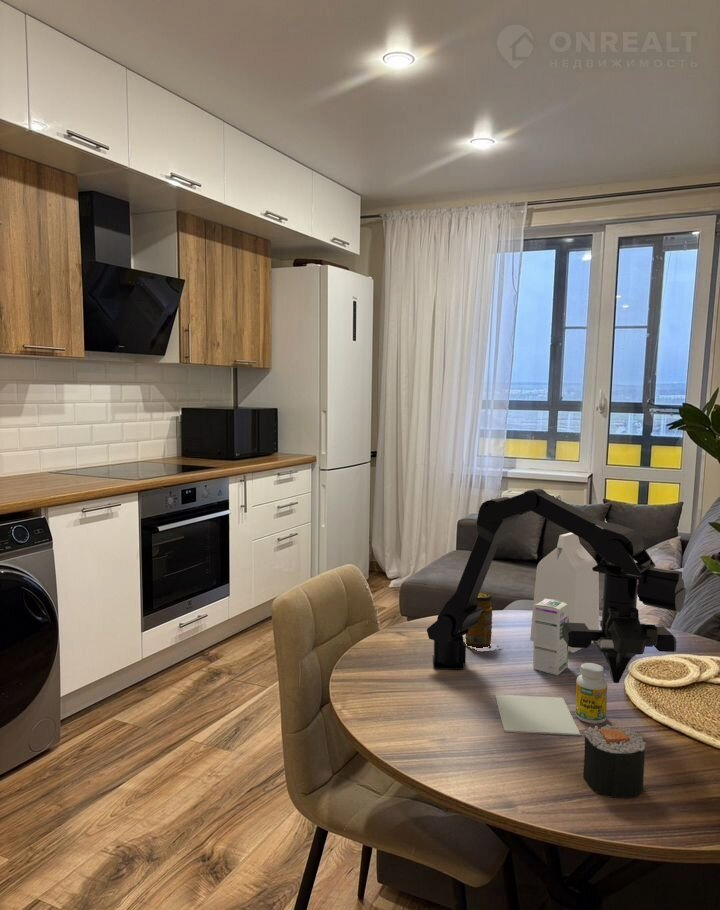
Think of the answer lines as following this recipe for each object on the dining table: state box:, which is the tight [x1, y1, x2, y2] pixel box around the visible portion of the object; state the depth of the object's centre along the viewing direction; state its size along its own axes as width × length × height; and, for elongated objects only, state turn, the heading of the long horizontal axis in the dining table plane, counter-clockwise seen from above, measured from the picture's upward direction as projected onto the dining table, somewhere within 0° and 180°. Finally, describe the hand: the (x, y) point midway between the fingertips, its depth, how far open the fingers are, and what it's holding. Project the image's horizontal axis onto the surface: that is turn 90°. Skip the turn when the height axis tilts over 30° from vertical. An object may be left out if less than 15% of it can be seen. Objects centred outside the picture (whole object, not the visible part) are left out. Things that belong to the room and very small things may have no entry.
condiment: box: [463, 591, 498, 653], centre depth 157 cm, size 7×8×12 cm
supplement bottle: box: [575, 662, 608, 725], centre depth 122 cm, size 5×5×10 cm
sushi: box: [582, 724, 647, 799], centre depth 102 cm, size 8×8×8 cm
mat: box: [494, 694, 581, 736], centre depth 124 cm, size 13×14×1 cm
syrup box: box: [532, 599, 569, 676], centre depth 144 cm, size 6×6×14 cm
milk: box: [529, 532, 600, 653], centre depth 161 cm, size 12×12×26 cm
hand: (615, 682), depth 122 cm, fingers closed
